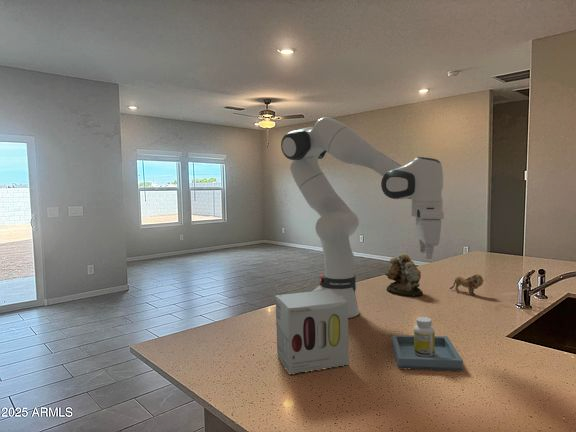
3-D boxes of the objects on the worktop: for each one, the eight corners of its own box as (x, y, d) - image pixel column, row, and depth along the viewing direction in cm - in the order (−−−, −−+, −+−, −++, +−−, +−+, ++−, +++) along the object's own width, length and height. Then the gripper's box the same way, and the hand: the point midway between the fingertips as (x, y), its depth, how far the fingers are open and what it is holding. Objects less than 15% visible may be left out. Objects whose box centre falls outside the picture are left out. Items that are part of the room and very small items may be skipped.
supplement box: (289, 377, 100) (287, 308, 98) (276, 355, 113) (274, 294, 111) (350, 366, 105) (349, 300, 103) (331, 346, 118) (330, 288, 116)
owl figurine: (378, 291, 176) (377, 253, 174) (394, 286, 183) (393, 250, 182) (413, 298, 162) (413, 258, 160) (429, 293, 169) (428, 254, 168)
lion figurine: (485, 295, 163) (485, 274, 162) (479, 298, 160) (479, 276, 159) (452, 288, 175) (452, 269, 174) (446, 291, 171) (446, 270, 171)
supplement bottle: (425, 347, 112) (425, 314, 112) (438, 355, 107) (439, 320, 107) (410, 351, 110) (409, 317, 110) (423, 359, 105) (423, 324, 105)
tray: (398, 368, 102) (398, 358, 102) (391, 343, 118) (391, 334, 118) (462, 371, 100) (462, 360, 99) (447, 345, 115) (447, 336, 115)
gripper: (411, 208, 129) (410, 249, 131) (421, 213, 109) (420, 262, 110) (431, 208, 128) (430, 249, 129) (445, 213, 108) (443, 262, 109)
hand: (425, 255), depth 120 cm, fingers open, 8 cm apart
